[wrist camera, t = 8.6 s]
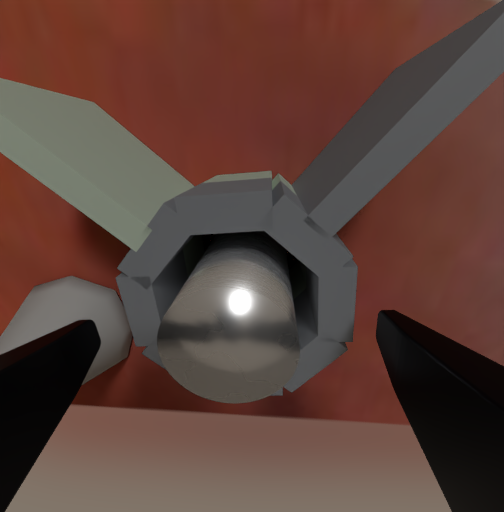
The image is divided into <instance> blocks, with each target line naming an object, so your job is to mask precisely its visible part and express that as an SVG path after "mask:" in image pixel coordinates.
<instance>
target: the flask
mask: <svg viewBox="0 0 504 512" xmlns="http://www.w3.org/2000/svg"><path fill="white" fill-rule="evenodd" d="M86 319H91V320H93V321H94V322H95V324H96V327H97V330H98V333H99V336H100V339H101V346H100V349H99V351H98V353H97V355H96V357H95V359H94V361H93V363H92V365H91V367H90V369H89V371H88V373H87V375H86V377H85V379H84V381H83V383H82V385H83V384H84V383H86V382H88V381H89V380H91V379H93V378H94V377H96V376H97V375H99V374H101V373H102V372H104V371H106V370H107V369H109V368H111V367H112V366H114V365H115V364H117V363H119V362H120V361H122V360H123V359H125V358H126V357H128V353H129V348H130V344H131V340H132V331H131V328H130V325H129V321H128V318H127V315H126V311H125V308H124V306H123V304H122V302H121V300H120V299H119V297H118V295H117V293H116V291H115V290H113V289H110V288H107V287H104V286H101V285H98V284H95V283H92V282H89V281H86V280H83V279H80V278H77V277H74V276H69V277H65V278H62V279H58V280H55V281H51V282H48V283H44V284H41V285H37V286H34V288H33V289H32V291H31V292H30V293H29V295H28V296H27V298H26V299H25V301H24V302H23V304H22V305H21V307H20V308H19V310H18V311H17V313H16V314H15V316H14V317H13V319H12V320H11V322H10V324H9V325H8V327H7V328H6V330H5V331H4V332H3V334H2V335H1V336H0V355H1V354H3V353H5V352H8V351H10V350H12V349H14V348H17V347H19V346H21V345H23V344H26V343H28V342H30V341H32V340H35V339H37V338H39V337H41V336H44V335H46V334H48V333H50V332H53V331H55V330H57V329H59V328H62V327H64V326H66V325H68V324H71V323H73V322H75V321H77V320H86Z"/></svg>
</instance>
